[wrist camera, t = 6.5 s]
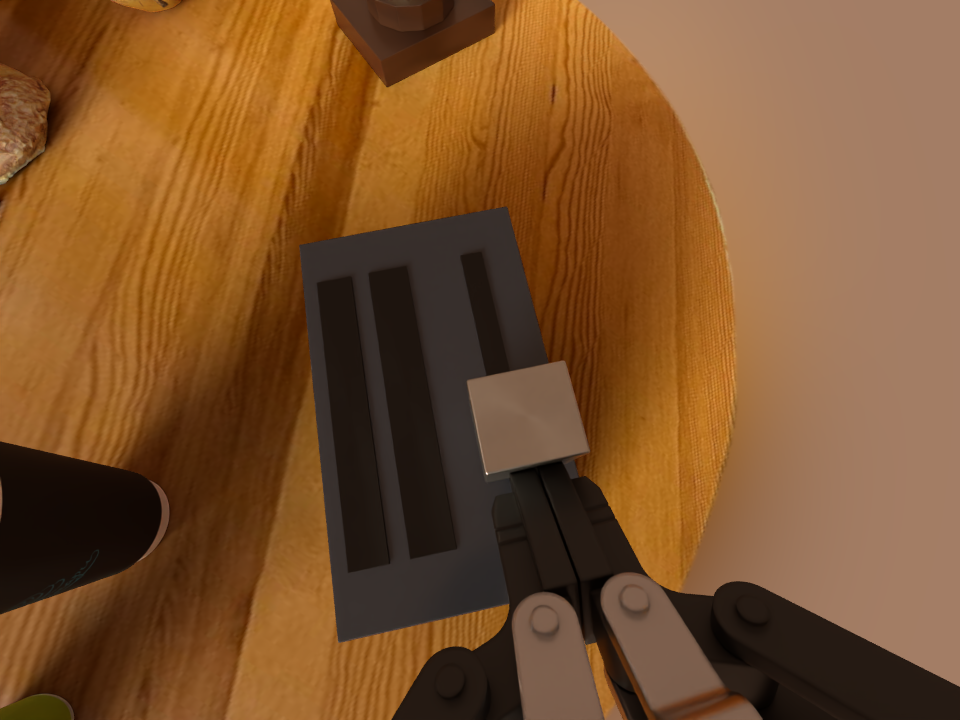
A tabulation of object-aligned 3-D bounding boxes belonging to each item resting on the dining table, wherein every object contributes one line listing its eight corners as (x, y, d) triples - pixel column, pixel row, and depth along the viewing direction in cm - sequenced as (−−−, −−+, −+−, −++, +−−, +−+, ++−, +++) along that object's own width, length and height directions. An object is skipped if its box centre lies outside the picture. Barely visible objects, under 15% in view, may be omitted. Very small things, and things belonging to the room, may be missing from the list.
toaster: (559, 549, 24) (608, 582, 15) (397, 585, 24) (336, 644, 14) (500, 303, 29) (507, 204, 19) (362, 330, 28) (297, 243, 19)
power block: (441, -24, 38) (436, -83, 34) (494, 33, 36) (495, -23, 32) (337, 25, 36) (320, -31, 32) (387, 87, 34) (374, 36, 30)
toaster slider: (558, 467, 16) (591, 452, 11) (485, 483, 16) (485, 475, 11) (541, 401, 16) (565, 359, 11) (472, 416, 16) (465, 379, 11)
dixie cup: (143, 625, 24) (-134, 729, 13) (24, 562, 24) (-323, 609, 14) (224, 482, 26) (43, 471, 15) (112, 428, 27) (-132, 383, 16)
